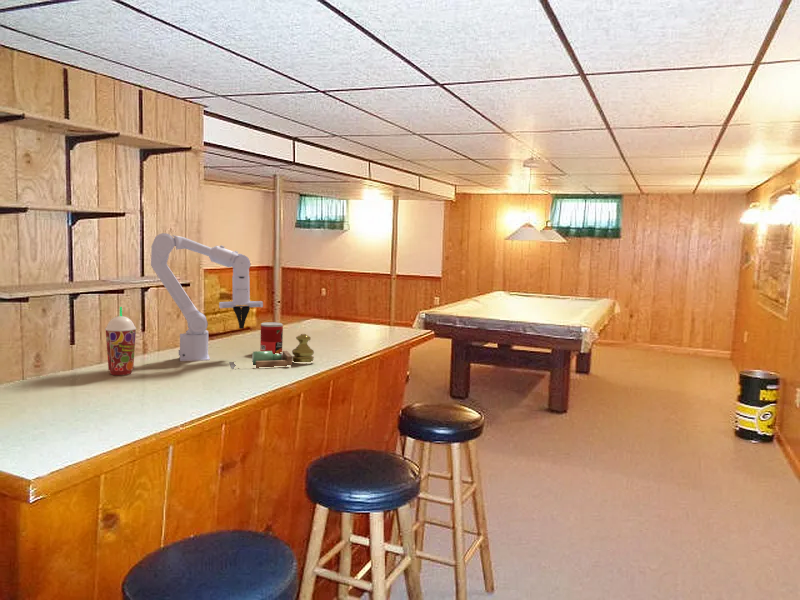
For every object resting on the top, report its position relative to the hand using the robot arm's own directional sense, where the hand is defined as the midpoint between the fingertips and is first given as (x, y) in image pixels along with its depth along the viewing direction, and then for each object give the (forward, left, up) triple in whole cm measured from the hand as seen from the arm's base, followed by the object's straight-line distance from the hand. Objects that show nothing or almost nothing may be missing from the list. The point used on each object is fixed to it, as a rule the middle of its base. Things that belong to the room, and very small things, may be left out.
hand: (241, 328), depth 209 cm
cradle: (+5, -14, -10) cm, 18 cm away
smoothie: (-37, -19, -11) cm, 43 cm away
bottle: (+3, -14, -8) cm, 16 cm away
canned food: (+11, +7, -11) cm, 17 cm away
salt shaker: (+19, -12, -11) cm, 25 cm away
